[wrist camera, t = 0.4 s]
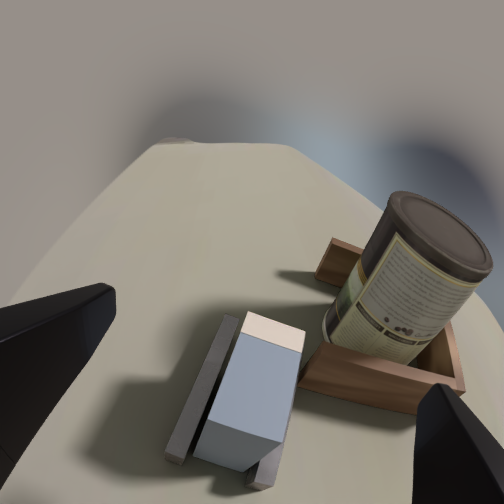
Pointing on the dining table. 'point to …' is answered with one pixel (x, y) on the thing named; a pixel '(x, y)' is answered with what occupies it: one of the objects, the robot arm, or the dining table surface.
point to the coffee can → (407, 281)
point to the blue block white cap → (253, 395)
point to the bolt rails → (195, 405)
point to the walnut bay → (373, 368)
